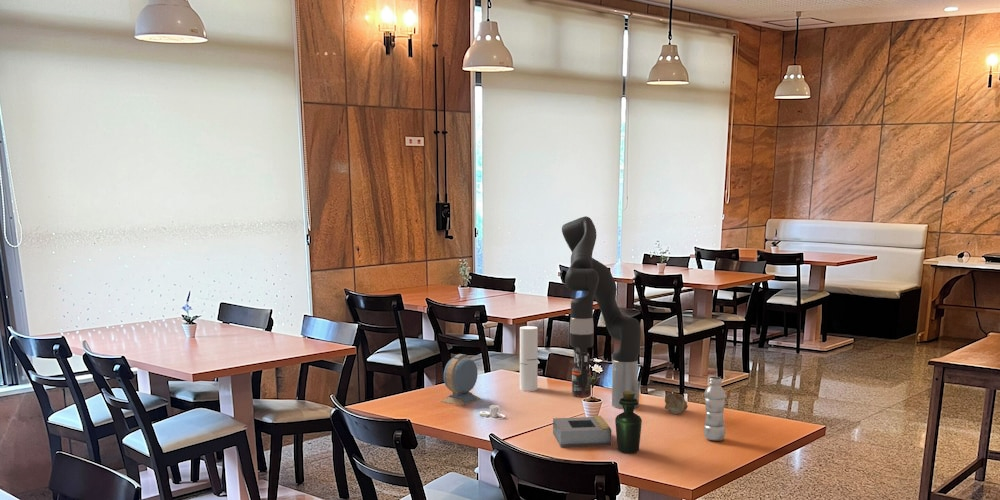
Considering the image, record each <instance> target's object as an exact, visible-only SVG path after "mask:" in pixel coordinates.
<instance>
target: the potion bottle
mask: <svg viewBox="0 0 1000 500" xmlns="http://www.w3.org/2000/svg"><path fill="white" fill-rule="evenodd" d="M634 396H635V392H633V391H623V398H621V399H620V401H619V404H621V405H622V406H623V408H622V410H623V411H622V412H621V413H619V414H618V415H616V417H615V419H614V423H615V432H616V433H615V434H616V435H615V436H616V449H617V450H618V451H619V452H620V453H622V454H631V455H632V454H637V453H638V452H640V444H641V433H642V432H641V431H642V423H643V422H642V421H643V420H642V417H641V416H640V415H638V414H637V413H635V412H634V411H635V408H636V407H635V406H636V405H638V401H637V399H634Z"/></svg>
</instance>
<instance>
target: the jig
mask: <svg viewBox="0 0 1000 500" xmlns="http://www.w3.org/2000/svg"><path fill="white" fill-rule="evenodd" d="M612 431H613V430H612V428H611V427H610V425H609V424H608V423H607V422H606V420H605V419H604V418H603V416H602V415H593V416H589V417H588V416H585V417H556V418H554V417H553V420H552V434H553V436H554V437H555V438H554V439H556V441H557V443H558V445H559V447H560V448H575V447H577V448H578V447H580V448H582V447H602V446H603V447H605V446H612Z"/></svg>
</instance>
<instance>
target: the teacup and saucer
mask: <svg viewBox="0 0 1000 500" xmlns="http://www.w3.org/2000/svg"><path fill="white" fill-rule="evenodd" d="M499 410H500V411H499ZM479 416H481V417H482V418H484V419H485V420H489V421H494V420H496V421H497V420H502V419H504V418H506V416H505V414H502V408H501V407H499V405H497V404H492V405H490V406H489V411H485V410H480V411H479ZM498 416H501V417H499V418H497V417H498ZM488 417H491V418H488Z"/></svg>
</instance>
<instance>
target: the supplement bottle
mask: <svg viewBox="0 0 1000 500" xmlns="http://www.w3.org/2000/svg"><path fill="white" fill-rule="evenodd" d="M580 364H581V363H580ZM583 370H586V368H585V367H583ZM589 371H590V372H589V374H587V386H580V370H579V367H578V364H577V360H576V361H575V366H574V367H573V368H572V370H571V384H572V385H571V394H572V397H574V398H578V399H586V398H589V397H591V394H592V393H591V392H592V386H591V384H592V382H591V381H592V380H591V378H592V377H591V375H592V374H591V368H589Z"/></svg>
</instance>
